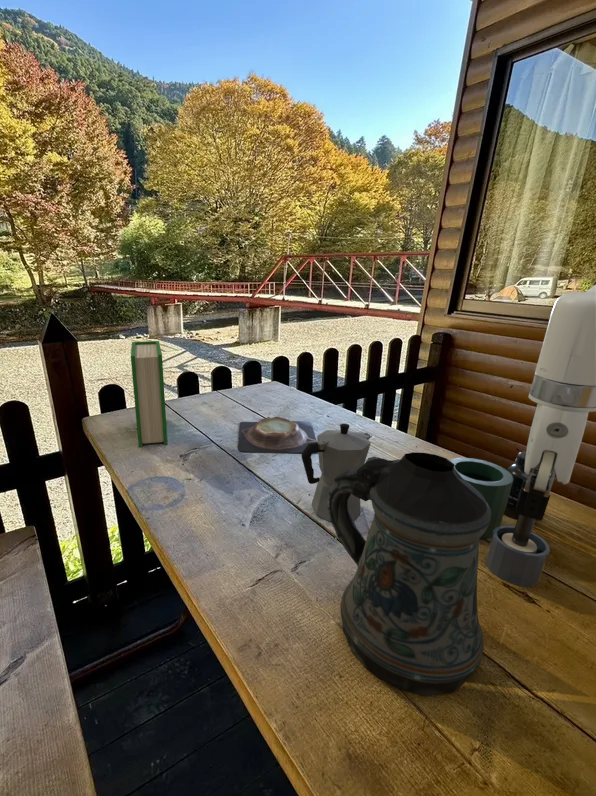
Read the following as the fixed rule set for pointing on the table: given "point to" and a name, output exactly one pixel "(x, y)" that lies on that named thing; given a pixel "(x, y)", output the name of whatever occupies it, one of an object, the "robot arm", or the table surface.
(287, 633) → the table surface
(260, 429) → the quiche
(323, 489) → the coffeepot
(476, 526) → the beer stein
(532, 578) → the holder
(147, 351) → the hardback book
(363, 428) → the table surface
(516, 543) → the brush
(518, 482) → the supplement bottle
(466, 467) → the jar
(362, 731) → the table surface
